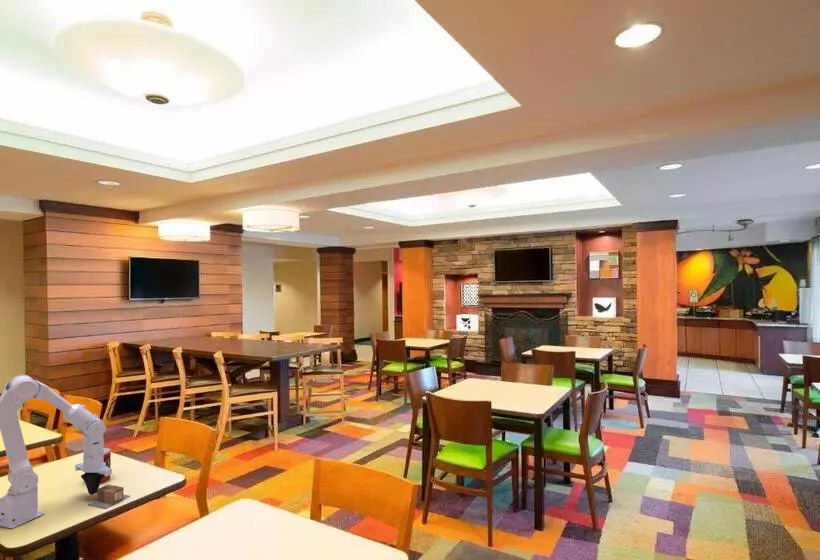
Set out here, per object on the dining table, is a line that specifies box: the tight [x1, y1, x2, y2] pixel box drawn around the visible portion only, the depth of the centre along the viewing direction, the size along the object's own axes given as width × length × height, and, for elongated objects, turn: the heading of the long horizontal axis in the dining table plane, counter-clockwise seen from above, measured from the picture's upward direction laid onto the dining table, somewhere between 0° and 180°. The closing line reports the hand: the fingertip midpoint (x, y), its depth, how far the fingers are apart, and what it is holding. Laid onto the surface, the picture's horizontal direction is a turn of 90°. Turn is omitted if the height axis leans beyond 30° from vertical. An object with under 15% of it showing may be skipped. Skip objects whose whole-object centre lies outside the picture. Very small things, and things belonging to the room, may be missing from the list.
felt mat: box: [87, 493, 130, 510], centre depth 155 cm, size 9×8×1 cm
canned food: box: [100, 447, 112, 485], centre depth 170 cm, size 8×8×11 cm
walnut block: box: [96, 484, 125, 506], centre depth 155 cm, size 4×4×7 cm
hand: (93, 493), depth 158 cm, fingers closed
